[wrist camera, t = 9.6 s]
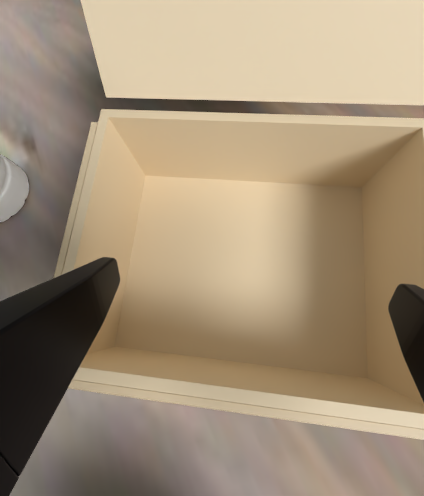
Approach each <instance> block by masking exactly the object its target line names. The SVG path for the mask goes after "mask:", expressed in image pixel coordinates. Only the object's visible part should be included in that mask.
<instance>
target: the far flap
mask: <svg viewBox="0 0 424 496" xmlns="http://www.w3.org/2000/svg"><path fill="white" fill-rule="evenodd" d="M81 4H82V8H83V12H84V15H85V19H86V23H87V27H88V31H89V34H90V38H91V42H92V46H93V50H94V53H95V57H96V61H97V65H98V69H99V72H100V76H101V80H102V84H103V88H104V91H105V95H106V97H109V98H149V99H189V100H230V101H270V102H310V103H351V104H391V105H424V0H81Z"/></svg>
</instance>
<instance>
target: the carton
mask: <svg viewBox="0 0 424 496" xmlns="http://www.w3.org/2000/svg"><path fill="white" fill-rule="evenodd" d="M102 257H111V258H115V259H116V260H117V264H118V269H119V274H120V284H119V287H118V289H117V292H116V294H115V296H114V299H113V301H112V304H111V306H110V309H109V311H108V313H107V316H106V318H105V320H104V323H103V324H102V326H101V328H100V330H99V332H98V334H97V336H96V337H95V339H94V341H93V343H92V345H91V347H90V348H89V350H88V352H87V354H86V356H85V357H84V359H83V361H82V363H81V365H80V367H79V368H78V370H77V372H76V374H75V376H74V378H73V379H72V381H71V383H70V385H69V387H68V388H70V389H76V390H83V391H90V392H97V393H104V394H111V395H118V396H125V397H132V398H139V399H146V400H152V401H159V402H166V403H173V404H180V405H187V406H194V407H201V408H208V409H215V410H221V411H228V412H235V413H242V414H249V415H256V416H263V417H270V418H277V419H284V420H290V421H297V422H304V423H311V424H318V425H325V426H332V427H339V428H346V429H353V430H360V431H366V432H373V433H380V434H387V435H394V436H401V437H408V438H415V439H422V440H424V402H423V400H422V398H421V396H420V393H419V391H418V389H417V387H416V384H415V382H414V380H413V378H412V375H411V373H410V371H409V369H408V367H407V364H406V362H405V359H404V357H403V354H402V351H401V349H400V345H399V342H398V339H397V336H396V333H395V330H394V327H393V324H392V320H391V317H390V314H389V310H388V306H389V302H390V300H391V298H392V296H393V294H394V292H395V290H396V288H397V286H398V285H399V284H414V285H417V286H419V287H421V288H423V289H424V119H422V118H388V117H354V116H321V115H287V114H253V113H219V112H185V111H151V110H117V109H101V112H100V117H99V121H98V122H91V126H90V130H89V134H88V139H87V143H86V147H85V151H84V155H83V159H82V163H81V167H80V171H79V175H78V179H77V184H76V188H75V192H74V196H73V200H72V204H71V208H70V212H69V216H68V220H67V224H66V229H65V233H64V237H63V241H62V245H61V249H60V253H59V257H58V261H57V265H56V270H55V274H54V278H56V277H58V276H60V275H62V274H65V273H67V272H69V271H72V270H74V269H76V268H79V267H81V266H83V265H85V264H88V263H90V262H92V261H95V260H97V259H99V258H102Z"/></svg>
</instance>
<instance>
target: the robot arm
mask: <svg viewBox="0 0 424 496" xmlns="http://www.w3.org/2000/svg"><path fill="white" fill-rule="evenodd" d="M119 284H120V274H119V269H118V264H117V260H116V259H115V258H111V257H102V258H99V259H97V260H95V261H92V262H90V263H88V264H85V265H83V266H81V267H79V268H76V269H74V270H72V271H69V272H67V273H65V274H62V275H60V276H58V277H56V278H53V279H51V280H49V281H46V282H44V283H42V284H39V285H37V286H35V287H32V288H30V289H28V290H26V291H23V292H21V293H19V294H16V295H14V296H12V297H9V298H7V299H5V300H2V301H0V496H9V495H10V493H11V491H12V489H13V487H14V486H15V484H16V482H17V480H18V478H19V477H18V476H19V475H20V474H21V472H22V471H23V469H24V467H25V465H26V463H27V461H28V460H29V458H30V456H31V454H32V452H33V450H34V449H35V447H36V445H37V443H38V441H39V440H40V438H41V436H42V434H43V432H44V430H45V429H46V427H47V425H48V423H49V421H50V419H51V418H52V416H53V414H54V412H55V410H56V409H57V407H58V405H59V403H60V401H61V399H62V398H63V396H64V394H65V392H66V390H67V388H68V387H69V385H70V383H71V381H72V379H73V378H74V376H75V374H76V372H77V370H78V368H79V367H80V365H81V363H82V361H83V359H84V357H85V356H86V354H87V352H88V350H89V348H90V347H91V345H92V343H93V341H94V339H95V337H96V336H97V334H98V332H99V330H100V328H101V326H102V324H103V323H104V320H105V318H106V316H107V313H108V311H109V309H110V306H111V304H112V301H113V299H114V296H115V294H116V292H117V289H118V287H119ZM388 310H389V314H390V317H391V320H392V324H393V327H394V330H395V333H396V336H397V339H398V342H399V345H400V349H401V351H402V354H403V357H404V359H405V362H406V364H407V367H408V369H409V371H410V373H411V375H412V378H413V380H414V382H415V384H416V387H417V389H418V391H419V393H420V396H421V398H422V400H423V402H424V289H423V288H421V287H419V286H417V285H414V284H399V285H398V286H397V288H396V290H395V292H394V294H393V296H392V298H391V300H390V302H389V306H388Z"/></svg>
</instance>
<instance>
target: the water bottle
mask: <svg viewBox="0 0 424 496" xmlns="http://www.w3.org/2000/svg"><path fill="white" fill-rule="evenodd" d="M28 193H29V183H28V178H27V175H26V174H25V172H24V171H23V170H22V169H21V168H20V167H19V166H18V165H16V164H15V163H14V162H12V161H10V160H9V159H8V158H6V157H5V156H3V155H1V154H0V223H1V222H4V221H6V220H8V219H9V218H10V216H13V215H15V214H16V213H17V212H18V211H19V210H20V209H21V208H22V206H23V205H24V203H25V199H26V198H27V196H28Z"/></svg>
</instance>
